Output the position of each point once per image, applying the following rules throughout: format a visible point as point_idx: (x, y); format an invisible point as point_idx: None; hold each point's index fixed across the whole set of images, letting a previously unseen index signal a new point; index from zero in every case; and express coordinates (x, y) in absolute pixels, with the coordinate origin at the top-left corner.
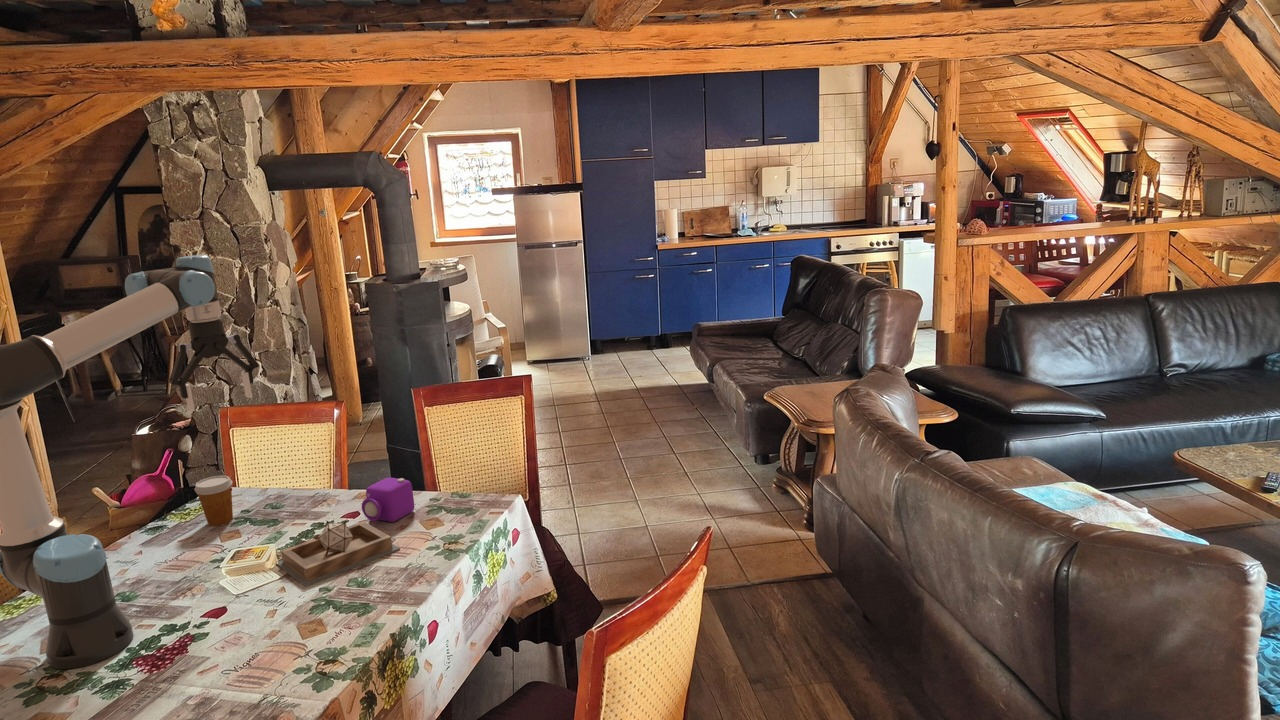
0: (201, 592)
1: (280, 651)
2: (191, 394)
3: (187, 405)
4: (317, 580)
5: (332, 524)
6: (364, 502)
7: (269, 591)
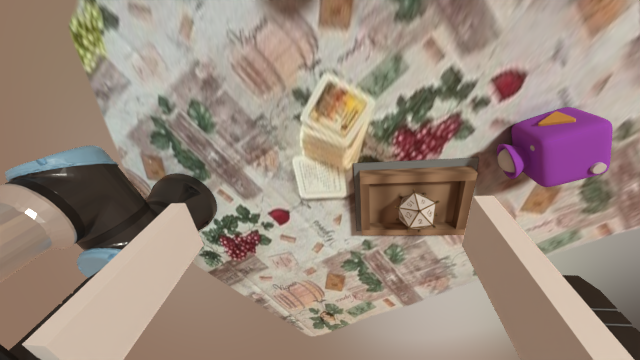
0: (273, 169)
1: (308, 290)
2: (149, 320)
3: (157, 220)
4: None
5: (420, 217)
6: (511, 156)
7: (327, 214)
